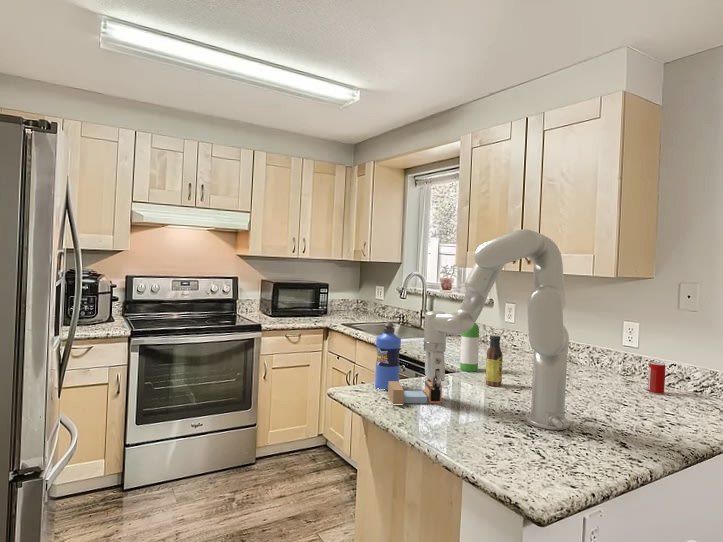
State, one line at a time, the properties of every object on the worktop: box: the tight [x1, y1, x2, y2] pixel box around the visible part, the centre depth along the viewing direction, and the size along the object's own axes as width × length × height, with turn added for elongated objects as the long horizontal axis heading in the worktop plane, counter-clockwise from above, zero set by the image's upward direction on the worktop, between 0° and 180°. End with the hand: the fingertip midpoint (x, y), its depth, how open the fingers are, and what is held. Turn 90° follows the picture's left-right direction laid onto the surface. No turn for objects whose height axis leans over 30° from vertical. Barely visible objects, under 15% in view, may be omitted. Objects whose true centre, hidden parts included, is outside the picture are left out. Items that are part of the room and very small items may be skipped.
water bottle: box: [374, 321, 402, 390], centre depth 174 cm, size 9×9×25 cm
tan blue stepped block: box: [387, 381, 429, 405], centre depth 158 cm, size 11×12×5 cm
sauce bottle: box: [485, 334, 504, 387], centre depth 183 cm, size 6×6×20 cm
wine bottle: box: [459, 322, 480, 373], centre depth 207 cm, size 8×8×30 cm
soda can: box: [647, 361, 666, 396], centre depth 179 cm, size 6×6×12 cm
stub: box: [424, 380, 443, 404], centre depth 159 cm, size 6×4×6 cm
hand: (432, 397), depth 159 cm, fingers closed on stub, 6 cm apart
